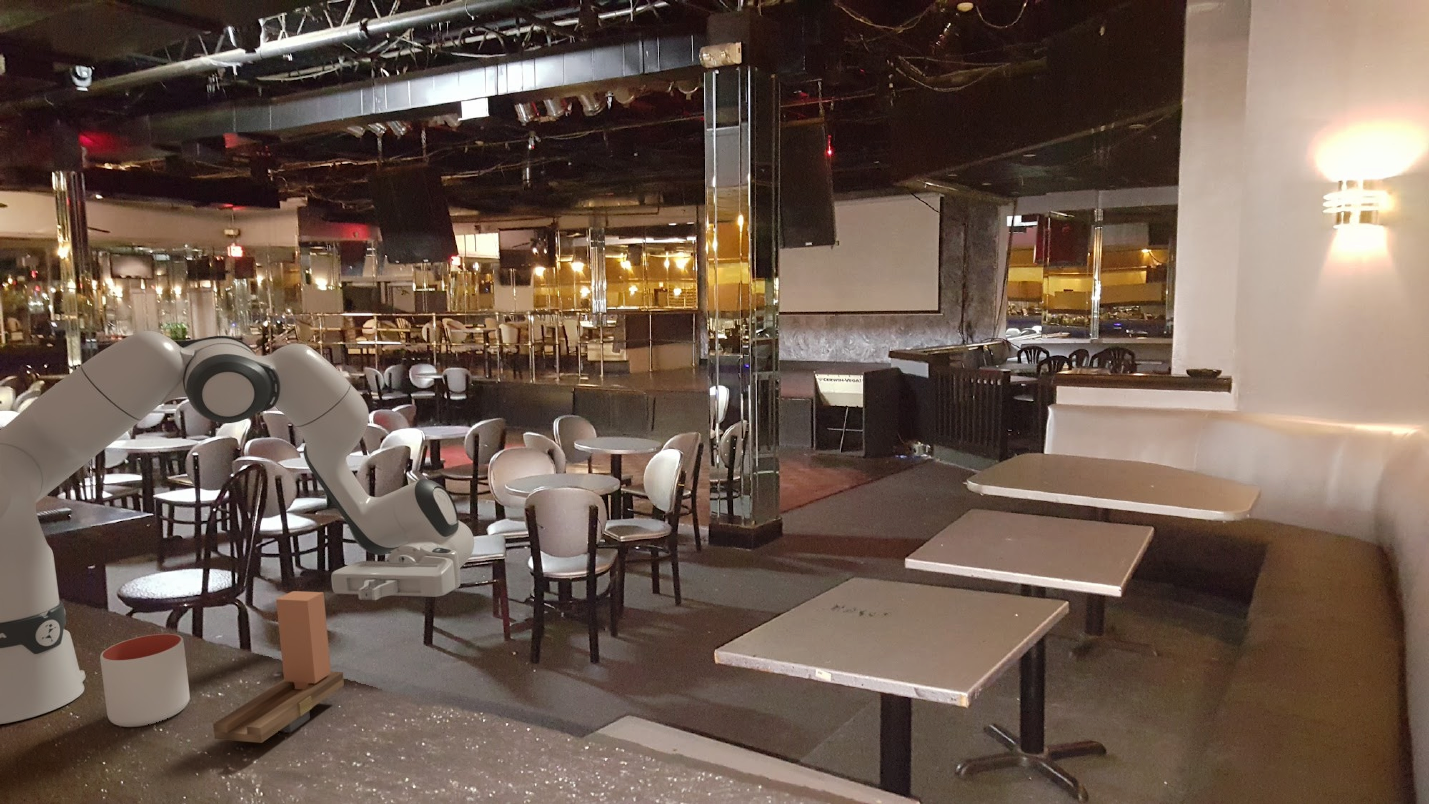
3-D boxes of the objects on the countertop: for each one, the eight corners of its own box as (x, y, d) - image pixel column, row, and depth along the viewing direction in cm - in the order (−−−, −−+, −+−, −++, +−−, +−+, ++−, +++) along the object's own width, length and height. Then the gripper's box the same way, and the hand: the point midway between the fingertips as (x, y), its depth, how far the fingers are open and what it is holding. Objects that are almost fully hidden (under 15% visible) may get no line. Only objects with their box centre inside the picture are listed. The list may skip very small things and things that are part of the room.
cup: (152, 733, 123) (143, 662, 122) (90, 728, 125) (81, 659, 124) (206, 700, 133) (199, 634, 132) (148, 696, 135) (141, 632, 134)
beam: (215, 753, 117) (212, 723, 117) (302, 695, 134) (299, 669, 133) (264, 757, 115) (261, 728, 115) (346, 698, 132) (343, 672, 131)
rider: (285, 689, 128) (276, 599, 127) (301, 678, 132) (292, 591, 130) (316, 691, 127) (307, 600, 126) (331, 680, 131) (323, 592, 129)
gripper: (358, 549, 158) (306, 574, 145) (465, 551, 153) (422, 577, 140) (361, 584, 159) (310, 612, 145) (468, 587, 154) (425, 616, 141)
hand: (366, 595), depth 143 cm, fingers closed
